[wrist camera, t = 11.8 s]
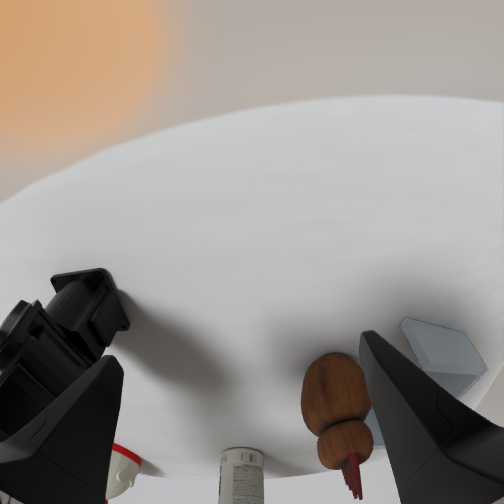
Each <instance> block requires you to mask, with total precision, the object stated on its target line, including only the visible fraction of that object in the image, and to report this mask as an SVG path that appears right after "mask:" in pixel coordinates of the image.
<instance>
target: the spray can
mask: <svg viewBox="0 0 504 504" xmlns="http://www.w3.org/2000/svg"><path fill="white" fill-rule="evenodd" d="M263 480H264V477H263V456H262V453H261V452H259V451H257V450H255V449H250V448H231V449H227V450H225V451H224V452H223V453H222V455H221V467H220V486H219V503H218V504H264V483H263V482H264V481H263Z"/></svg>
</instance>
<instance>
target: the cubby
mask: <svg viewBox="0 0 504 504" xmlns="http://www.w3.org/2000/svg"><path fill="white" fill-rule="evenodd" d="M400 326H401V328H402V330H403V332H404V334H405V336H406V338H407V339H408V341H409V343H410V345H411V347H412V349H413V351H414V353H415V355H416V357H417V359H418V361H419V363H420V365H421V367H422V369H423V371H427V372H426V374H427V375H428V376H430V377H431V378H432V379H433V380H434V381H436V382H437V383H438V384H439V385H440V386H442V387H443V388H444V389H445V390H446V391H448V392H449V393H450V394H451V395H453V396H454V397H455V398H456V399H459V398H460V397H461V396H463V395H464V394H465V393H466V392H467V391H468V390H469V389H470V388H471V387H472V386H473V385H474V384H475V383H476V382H477V381H478V379H479V378H480V377H481V376H482V375H483V374H484V373H485V372H486V371H487V370H488V367H487V366H486V364H485V362H484V361H483V359H482V358H481V356H480V354H479V353H478V351H477V350H476V348H475V347H474V345H473V344H472V342H471V341H470V339H469V338H468V336H467V335H466V333H463V332H459V331H455V330H451V329H448V328H444V327H440V326H436V325H432V324H429V323H425V322H421V321H418V320H414V319H410V318H406V317H405V319H404V320H403V321H402V323H401V324H400ZM364 423H366V424H367V425H368V427H369V428H370V430H371V432H372V435H373V440H374V446H373V449H384V448H386V447H385V443H384V440H383V437H382V434H381V431H380V427H379V424H378V421H377V418H376V415H375V412H374V409H370V411H369V413H368V415H367V417H366V419H365V421H364Z"/></svg>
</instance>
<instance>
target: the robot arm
mask: <svg viewBox="0 0 504 504" xmlns="http://www.w3.org/2000/svg"><path fill="white" fill-rule="evenodd" d="M99 273H100V274H101V276H100V275H99ZM50 281H51V283H52V285H53V287H54V289H55V291H56V293H57V294H56V295H55V296H54V298H53V299H52V300H51V301H50V303H49V304H48V305H47V306H46V308H45V309H44V308H43V307H42V304H41V303H40V302H39V301H38V299H37V300H36V301H35V302H33V303H32V304H30V303H27V302H25V301H23V300H21V301H20V302H18V304H17V305H16V306H15V307H14V308H13V310H12V311H11V312H10V313H9V315H8V316H7V317H6V319H5V320H4V322H3V323H2V325H1V327H0V504H105V500H106V490H107V482H108V475H109V468H110V461H111V455H112V449H113V443H114V437H115V432H116V426H117V421H118V416H119V411H120V405H121V396H122V387H123V378H124V371H123V368H122V367H121V365H120V364H119V362H118V361H117V359H116V357H115V356H113V355H104V356H103V357H102V355H103V353H104V351H105V349H106V347H109V346H110V344H111V342H112V340H113V338H114V336H115V334H116V332H117V331H127V330H128V329H129V327H130V323H129V321H128V319H127V317H126V315H125V313H124V311H123V309H122V307H121V305H120V303H119V300H118V298H117V296H116V294H115V292H114V290H113V288H112V286H111V284H110V281H109V279H108V277H107V275H106V272H105V271H104V270H103V269H101V268H96V269H90V270H83V271H77V272H70V273H64V274H58V275H53V276H52V277H51V279H50ZM359 353H360V358H361V363H362V367H363V372H364V376H365V381H366V386H367V390H368V394H369V397H370V400H371V403H372V406H373V409H374V412H375V415H376V418H377V421H378V424H379V427H380V431H381V434H382V437H383V440H384V443H385V447H386V450H387V453H388V457H389V460H390V464H391V467H392V471H393V474H394V477H395V482H396V485H397V489H398V493H399V497H400V501H401V504H504V427H500V426H498V425H496V424H494V423H492V422H490V421H489V420H487V419H486V418H484V417H483V416H481V415H480V414H478V413H477V412H475V411H474V410H472V409H471V408H469V407H468V406H466V405H465V404H463V403H462V402H460V401H459V400H458V399H456V398H455V397H454V396H453V395H451V394H450V393H449V392H448V391H446V390H445V389H444V388H443V387H442V386H440V385H439V384H438V383H437V382H436V381H434V380H433V379H432V378H431V377H430V376H428V375H427V374H426V373H425V372H424V371H422V370H421V369H420V368H419V367H418V366H416V365H415V364H414V363H413V362H411V361H410V360H409V359H408V358H407V357H405V356H404V355H403V354H402V353H401V352H399V351H398V350H397V349H396V348H395V347H393V346H392V345H391V344H390V343H388V342H387V341H386V340H385V339H384V338H382V337H381V336H380V335H379V334H377V333H376V332H375V331H373V330H369V331H364V332H362V333H361V337H360V346H359ZM101 357H102V358H101Z"/></svg>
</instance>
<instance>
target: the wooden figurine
mask: <svg viewBox="0 0 504 504" xmlns="http://www.w3.org/2000/svg"><path fill="white" fill-rule="evenodd" d="M371 406H372V403H371V400H370V397H369V394H368V390H367V386H366V381H365V376H364V372H363V370H362V369H361V367H360V366H359V365H358V364H357V363H356V362H355V361H354V360H353V359H352V358H350V357H348V356H346V355H344V354H338V353H331V354H327V355H324V356H322V357H320V358H318V359H317V360H316V361H314V362H313V363H312V364H311V365H310V367H309V368H308V369H307V372H306V374H305V377H304V381H303V387H302V394H301V410H302V415H303V419H304V422H305V424H306V426H307V427H308V429H309V430H310V431H311V432H312V433H313V434H315V435H316V436H317V437H319V438H318V442H317V450H318V456H319V459H320V461H321V463H322V464H323V465H324V466H325V467H326V468H328V469H333V470H340V469H342V473H343V476H344V479H345V483H346V485H348V486H349V490H352V492H353V496H354V499H357V494H358V497H359V500H362V487H361V478H360V469H359V465H360V464H362V463H363V462H365V461H366V460H367V459H368V458H369V457H370V455H371V453H372V451H373V446H374V440H373V435H372V432H371V430H370V428H369V427H368V425H367V424H366V423H364V421H365V419H366V417H367V415H368V413H369V411H370V409H371Z"/></svg>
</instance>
